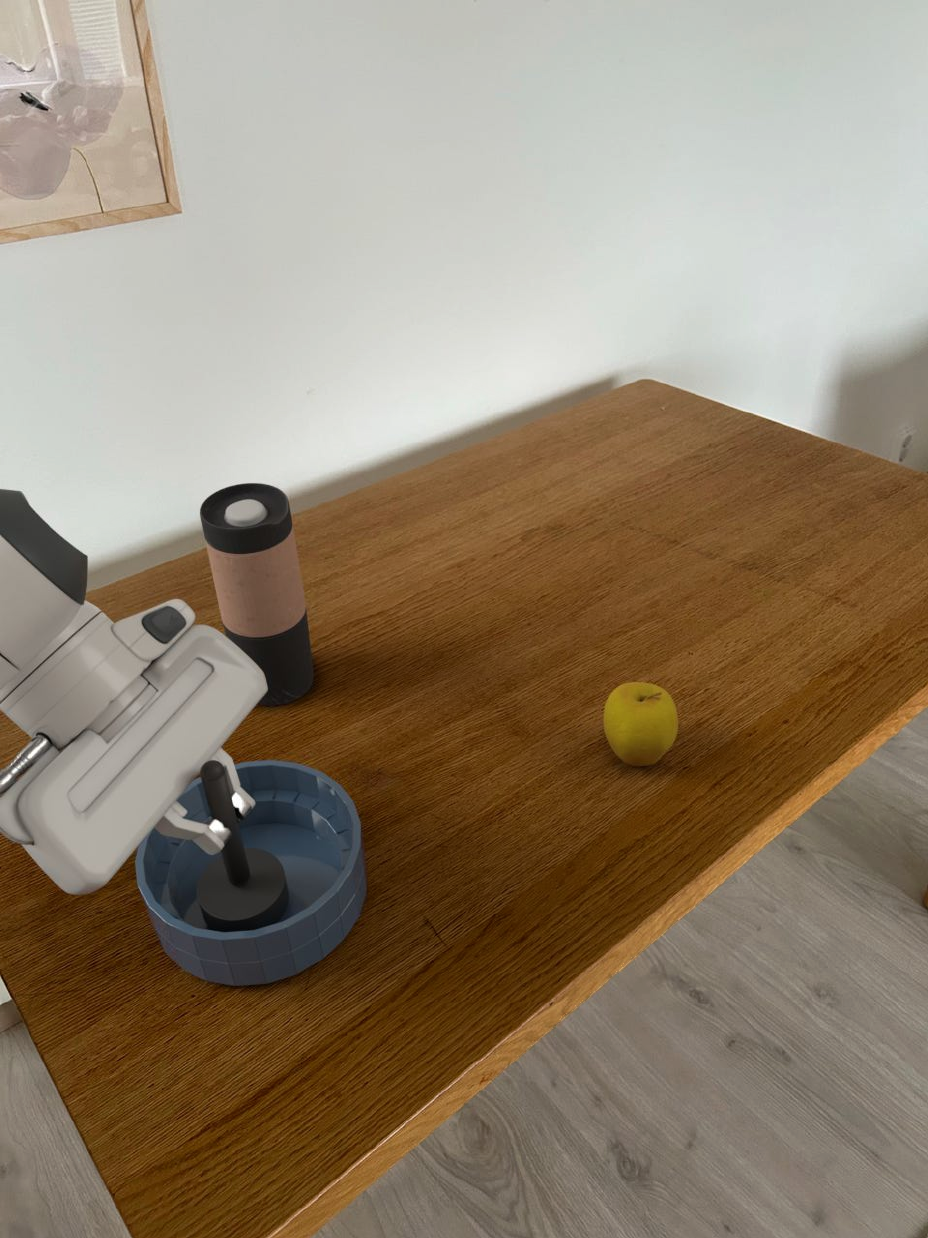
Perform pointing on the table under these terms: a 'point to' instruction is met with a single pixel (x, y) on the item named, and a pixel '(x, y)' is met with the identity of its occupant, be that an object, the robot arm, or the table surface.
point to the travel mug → (260, 584)
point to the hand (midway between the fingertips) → (234, 829)
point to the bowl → (312, 861)
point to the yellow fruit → (640, 722)
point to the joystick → (238, 870)
